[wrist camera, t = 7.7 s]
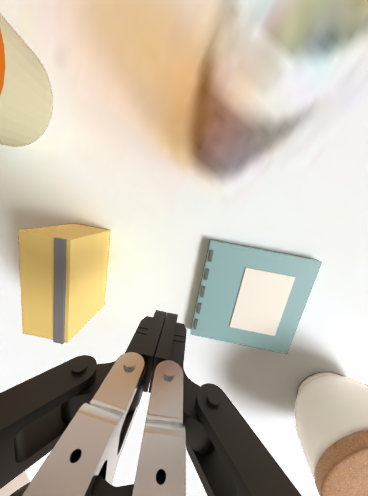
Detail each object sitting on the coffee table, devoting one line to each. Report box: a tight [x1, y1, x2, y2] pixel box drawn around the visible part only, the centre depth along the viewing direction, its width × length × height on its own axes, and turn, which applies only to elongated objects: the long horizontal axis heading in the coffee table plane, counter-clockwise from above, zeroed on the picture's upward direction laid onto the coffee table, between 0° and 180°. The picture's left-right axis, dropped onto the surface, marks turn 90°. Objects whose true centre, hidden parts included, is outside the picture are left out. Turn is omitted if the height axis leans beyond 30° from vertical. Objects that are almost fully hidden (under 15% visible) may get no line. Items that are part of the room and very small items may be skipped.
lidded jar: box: [294, 372, 368, 496], centre depth 17 cm, size 11×11×9 cm
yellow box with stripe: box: [18, 224, 110, 344], centre depth 16 cm, size 9×4×6 cm, turn 170°
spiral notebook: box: [191, 240, 322, 354], centre depth 19 cm, size 11×11×1 cm
